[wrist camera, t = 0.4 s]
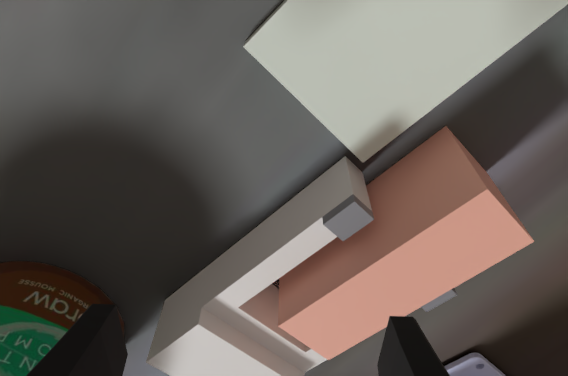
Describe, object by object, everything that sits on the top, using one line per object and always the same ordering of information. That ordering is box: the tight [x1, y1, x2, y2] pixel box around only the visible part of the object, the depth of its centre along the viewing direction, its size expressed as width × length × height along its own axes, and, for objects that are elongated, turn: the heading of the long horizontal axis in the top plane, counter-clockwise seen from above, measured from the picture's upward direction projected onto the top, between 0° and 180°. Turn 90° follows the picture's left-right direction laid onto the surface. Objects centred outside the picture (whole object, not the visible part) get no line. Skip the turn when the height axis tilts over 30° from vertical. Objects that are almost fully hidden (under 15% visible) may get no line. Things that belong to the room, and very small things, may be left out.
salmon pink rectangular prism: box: [278, 126, 534, 360], centre depth 20 cm, size 3×10×5 cm, turn 135°
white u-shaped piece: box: [146, 156, 457, 376], centre depth 22 cm, size 7×13×4 cm, turn 135°
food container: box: [0, 261, 124, 376], centre depth 21 cm, size 12×6×10 cm, turn 58°
